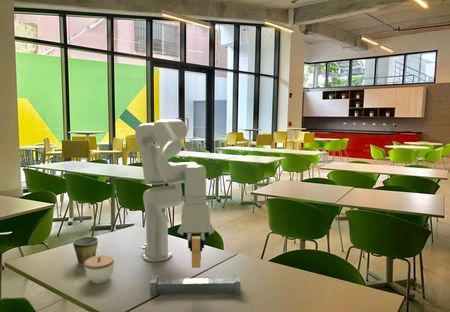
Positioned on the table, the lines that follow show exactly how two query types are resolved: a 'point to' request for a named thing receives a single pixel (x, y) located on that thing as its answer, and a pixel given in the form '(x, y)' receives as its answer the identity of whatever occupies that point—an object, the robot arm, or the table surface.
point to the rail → (195, 286)
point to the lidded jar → (99, 268)
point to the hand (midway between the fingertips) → (196, 249)
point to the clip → (196, 252)
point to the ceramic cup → (85, 248)
